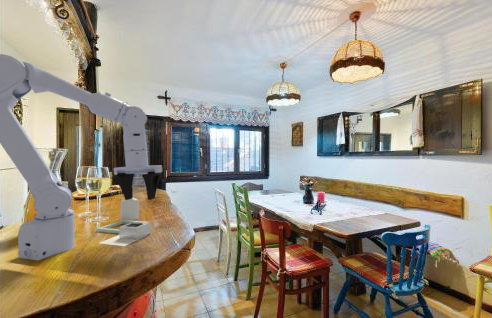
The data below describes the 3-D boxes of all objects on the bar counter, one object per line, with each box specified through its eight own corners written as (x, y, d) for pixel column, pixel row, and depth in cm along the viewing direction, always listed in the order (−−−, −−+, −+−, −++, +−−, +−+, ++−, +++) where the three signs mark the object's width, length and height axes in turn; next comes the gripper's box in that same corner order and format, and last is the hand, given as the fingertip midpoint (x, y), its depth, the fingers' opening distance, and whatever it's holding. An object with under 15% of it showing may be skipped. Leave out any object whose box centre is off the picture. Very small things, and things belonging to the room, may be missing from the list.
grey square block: (136, 240, 60) (136, 228, 60) (119, 238, 61) (119, 226, 61) (150, 233, 65) (150, 222, 65) (134, 232, 66) (134, 221, 66)
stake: (136, 237, 62) (136, 224, 62) (129, 236, 63) (128, 224, 63) (141, 235, 64) (141, 222, 64) (133, 234, 64) (133, 222, 64)
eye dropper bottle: (123, 221, 82) (123, 187, 82) (140, 220, 83) (140, 187, 83) (118, 224, 78) (118, 189, 78) (136, 223, 79) (136, 188, 79)
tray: (124, 237, 65) (124, 231, 65) (96, 234, 67) (96, 228, 67) (148, 227, 74) (148, 221, 74) (123, 225, 77) (123, 219, 77)
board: (124, 250, 56) (124, 246, 56) (98, 247, 58) (98, 243, 58) (147, 239, 63) (146, 235, 63) (123, 236, 65) (123, 233, 65)
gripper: (167, 149, 66) (170, 195, 67) (125, 152, 70) (129, 196, 71) (151, 149, 60) (155, 201, 60) (105, 152, 63) (110, 201, 64)
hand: (140, 199), depth 65 cm, fingers open, 7 cm apart
